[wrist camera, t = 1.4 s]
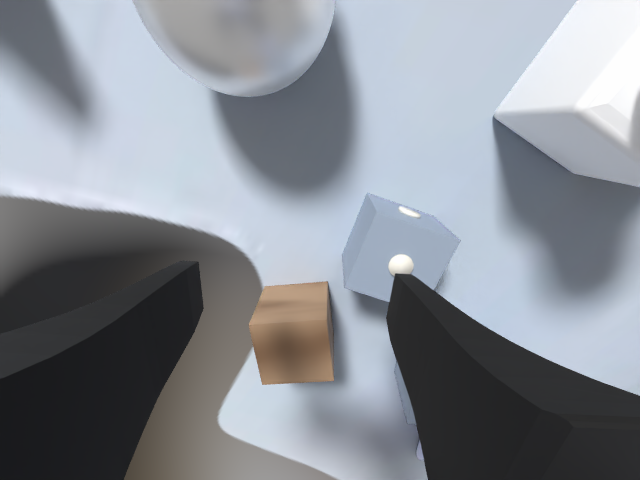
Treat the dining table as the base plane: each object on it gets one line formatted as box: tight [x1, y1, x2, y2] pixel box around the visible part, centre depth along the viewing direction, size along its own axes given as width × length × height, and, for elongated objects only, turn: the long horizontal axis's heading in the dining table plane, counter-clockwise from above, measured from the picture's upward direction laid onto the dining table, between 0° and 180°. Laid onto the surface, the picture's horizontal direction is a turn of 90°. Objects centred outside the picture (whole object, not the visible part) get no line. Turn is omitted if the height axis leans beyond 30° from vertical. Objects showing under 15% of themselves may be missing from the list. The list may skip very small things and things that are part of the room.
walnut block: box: [249, 282, 334, 385], centre depth 22 cm, size 5×5×5 cm
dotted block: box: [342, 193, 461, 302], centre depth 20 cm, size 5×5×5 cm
